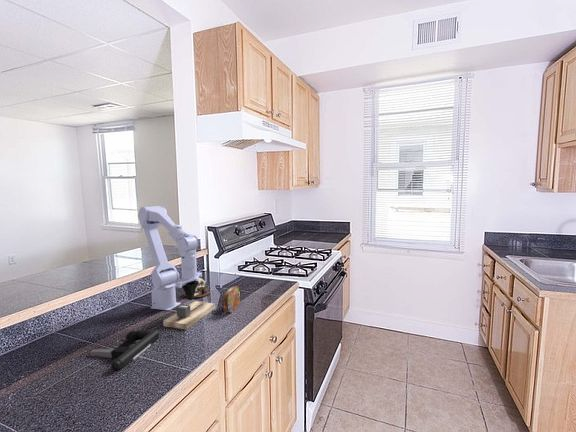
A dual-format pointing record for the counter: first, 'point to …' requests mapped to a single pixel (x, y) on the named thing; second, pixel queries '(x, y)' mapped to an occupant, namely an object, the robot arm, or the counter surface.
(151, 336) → the door handle
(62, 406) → the counter surface
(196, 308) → the slider board
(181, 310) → the fader knob
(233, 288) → the tin
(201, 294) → the skull
